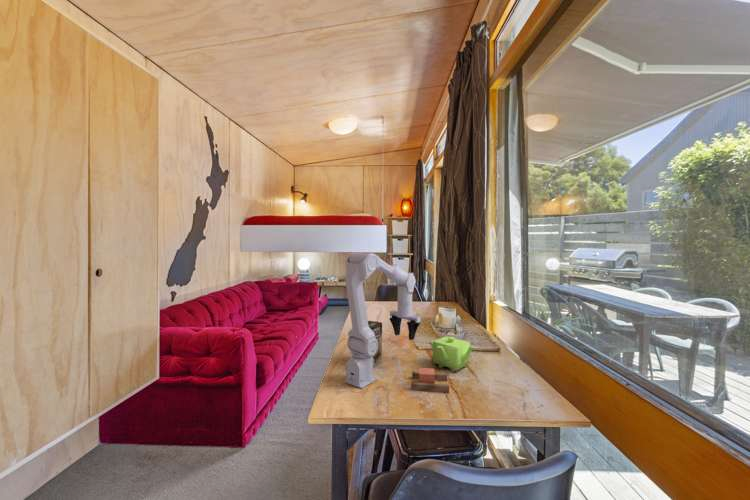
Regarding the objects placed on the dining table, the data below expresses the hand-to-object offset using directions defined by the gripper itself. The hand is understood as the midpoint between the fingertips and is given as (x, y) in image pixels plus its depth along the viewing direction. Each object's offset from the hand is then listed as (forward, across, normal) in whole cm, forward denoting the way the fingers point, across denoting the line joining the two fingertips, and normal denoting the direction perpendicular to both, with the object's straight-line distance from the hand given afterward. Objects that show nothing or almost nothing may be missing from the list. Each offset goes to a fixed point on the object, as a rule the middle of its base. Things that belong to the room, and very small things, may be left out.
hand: (404, 337), depth 132 cm
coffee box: (+10, +7, +12) cm, 17 cm away
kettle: (+10, -16, -9) cm, 21 cm away
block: (+10, -19, +9) cm, 23 cm away
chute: (+10, -19, +9) cm, 23 cm away
